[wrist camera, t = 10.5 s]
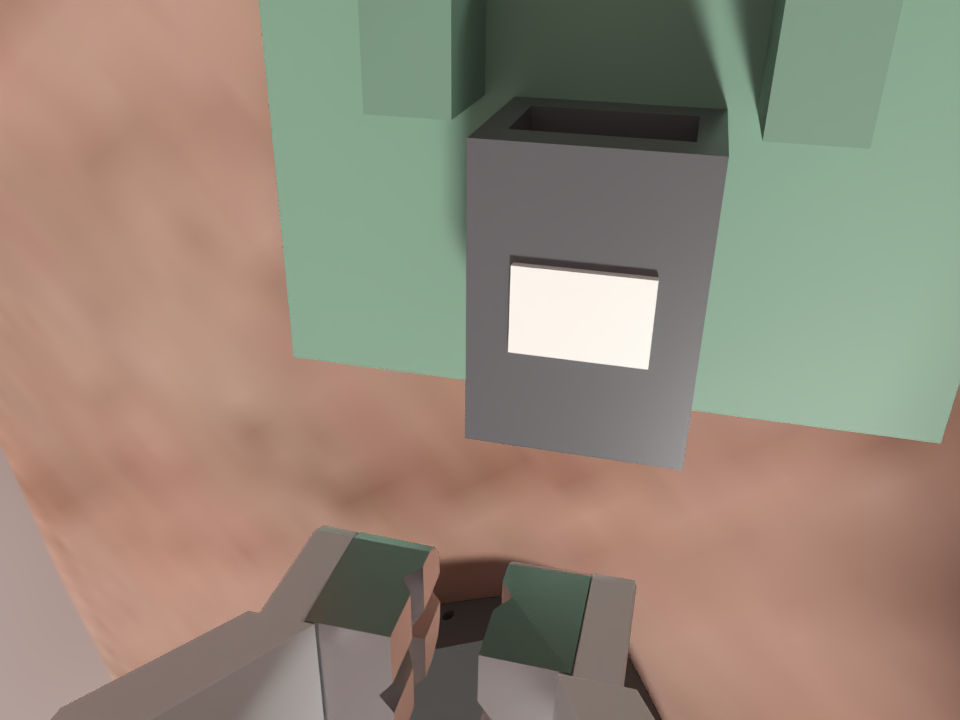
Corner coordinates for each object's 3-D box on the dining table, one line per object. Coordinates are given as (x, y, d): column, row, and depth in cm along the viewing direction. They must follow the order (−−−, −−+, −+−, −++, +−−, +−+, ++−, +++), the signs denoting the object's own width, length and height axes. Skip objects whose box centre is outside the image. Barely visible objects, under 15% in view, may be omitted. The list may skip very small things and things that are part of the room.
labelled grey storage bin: (689, 376, 23) (682, 475, 19) (506, 353, 24) (463, 442, 20) (728, 109, 20) (728, 159, 16) (514, 96, 21) (464, 140, 17)
